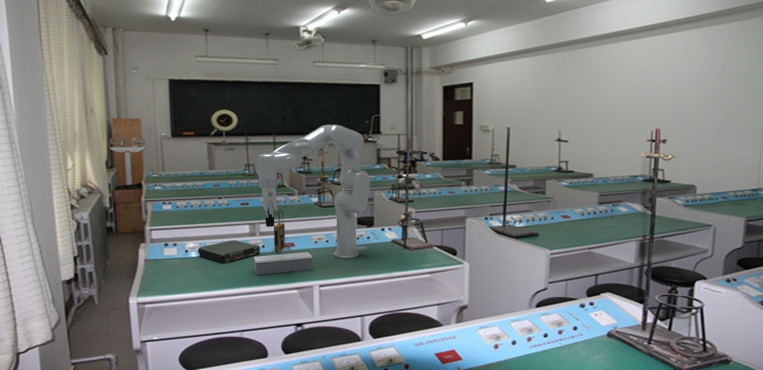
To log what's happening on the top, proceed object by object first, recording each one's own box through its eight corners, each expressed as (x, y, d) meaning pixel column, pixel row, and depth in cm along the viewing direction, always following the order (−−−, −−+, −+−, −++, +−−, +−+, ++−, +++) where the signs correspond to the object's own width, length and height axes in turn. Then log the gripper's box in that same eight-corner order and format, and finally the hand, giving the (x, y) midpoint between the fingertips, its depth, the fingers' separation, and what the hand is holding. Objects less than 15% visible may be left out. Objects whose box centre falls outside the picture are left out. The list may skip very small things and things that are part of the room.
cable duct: (308, 265, 218) (308, 254, 217) (312, 269, 211) (311, 258, 211) (254, 270, 210) (254, 259, 209) (256, 275, 203) (255, 263, 202)
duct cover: (307, 254, 218) (307, 251, 218) (312, 258, 210) (312, 256, 210) (253, 258, 210) (253, 256, 210) (255, 263, 202) (255, 261, 202)
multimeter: (290, 254, 236) (289, 214, 234) (271, 253, 238) (270, 213, 236) (300, 247, 251) (300, 209, 248) (283, 246, 253) (282, 208, 250)
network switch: (227, 265, 218) (227, 255, 217) (193, 258, 229) (192, 248, 229) (264, 254, 238) (263, 244, 237) (230, 248, 250) (230, 238, 249)
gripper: (280, 185, 195) (281, 229, 198) (274, 180, 209) (276, 222, 212) (261, 186, 193) (263, 230, 195) (257, 181, 206) (258, 223, 209)
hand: (270, 226), depth 203 cm, fingers closed
